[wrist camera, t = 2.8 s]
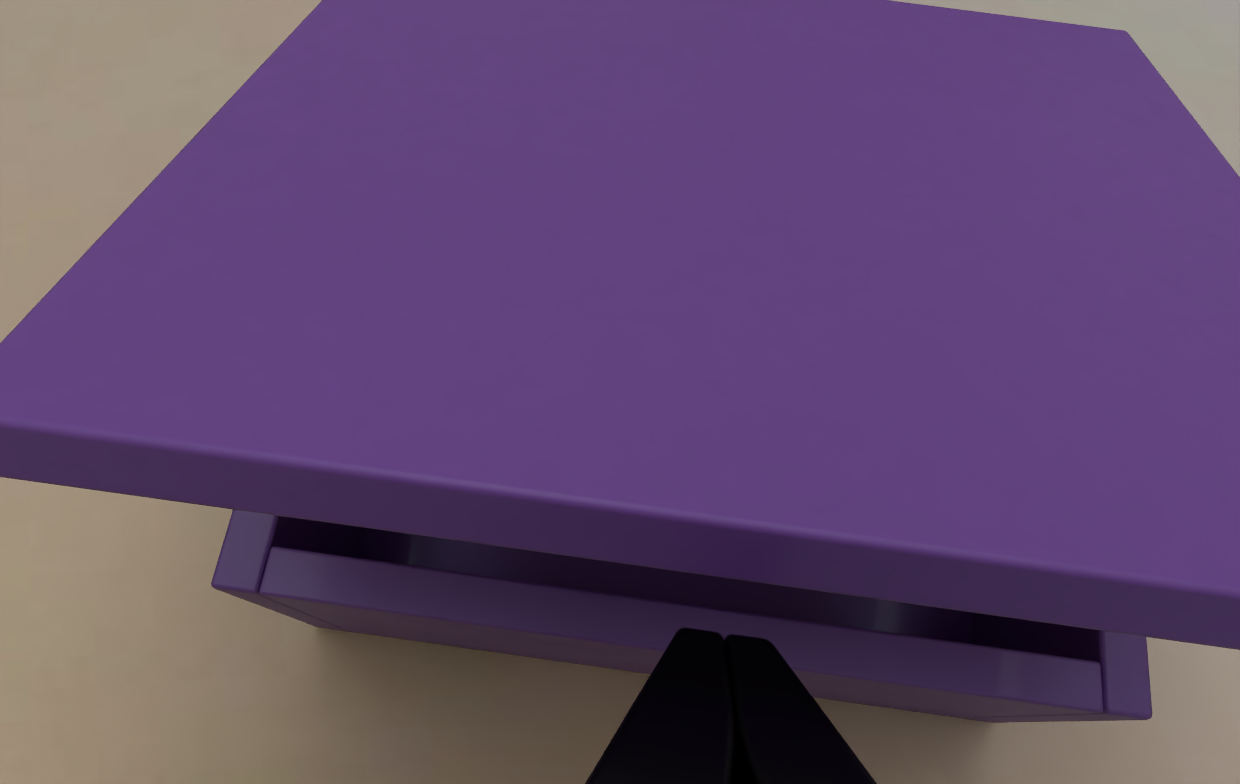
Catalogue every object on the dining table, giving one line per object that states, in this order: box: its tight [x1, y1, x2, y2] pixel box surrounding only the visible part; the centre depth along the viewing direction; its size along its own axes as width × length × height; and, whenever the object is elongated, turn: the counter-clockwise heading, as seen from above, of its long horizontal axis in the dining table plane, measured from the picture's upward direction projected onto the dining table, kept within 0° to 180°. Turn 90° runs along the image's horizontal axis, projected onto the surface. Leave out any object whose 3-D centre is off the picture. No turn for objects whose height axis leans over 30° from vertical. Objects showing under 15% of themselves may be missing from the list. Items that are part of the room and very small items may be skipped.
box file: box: [211, 509, 1152, 723], centre depth 17 cm, size 11×13×5 cm
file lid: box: [0, 0, 1240, 650], centre depth 12 cm, size 12×13×1 cm
